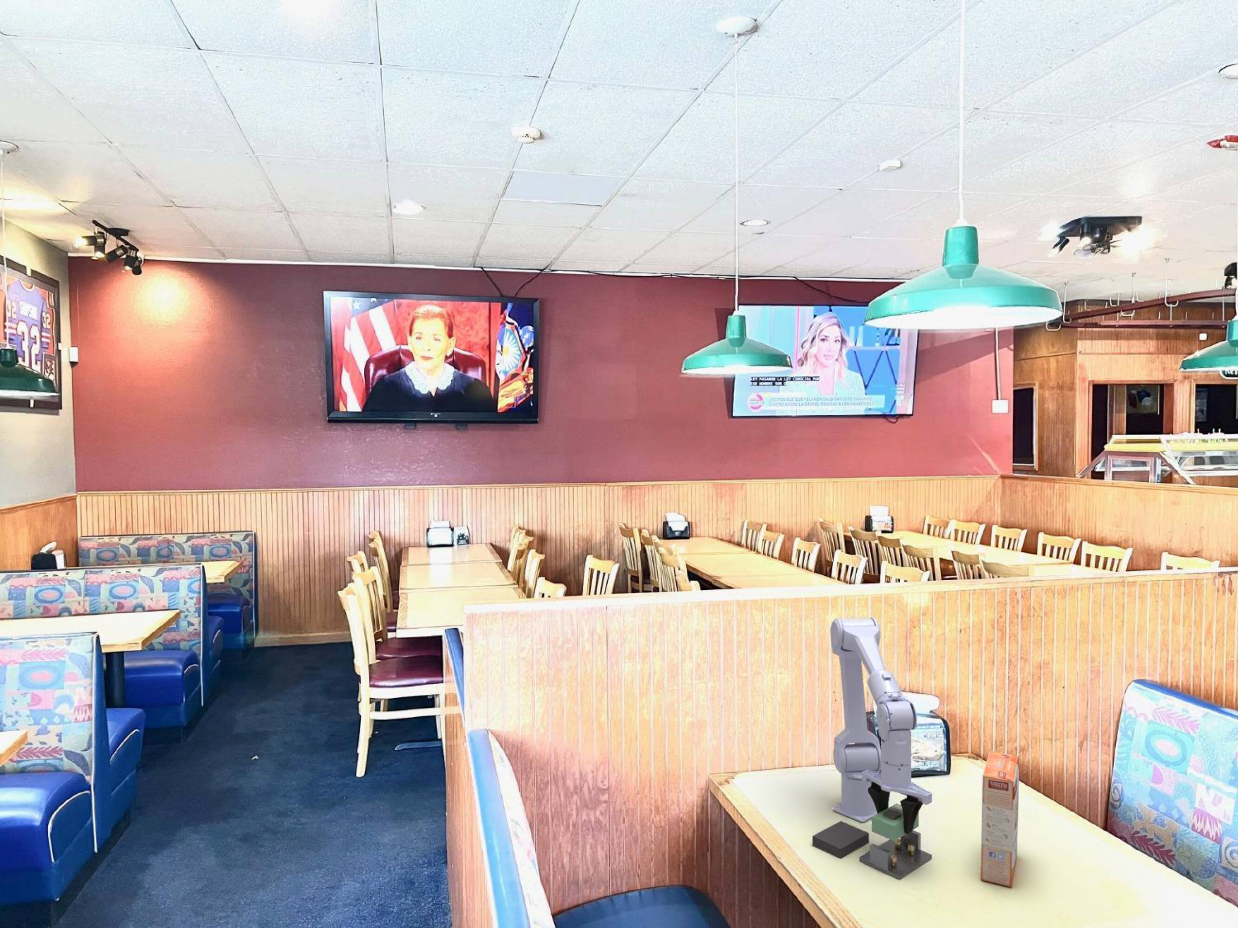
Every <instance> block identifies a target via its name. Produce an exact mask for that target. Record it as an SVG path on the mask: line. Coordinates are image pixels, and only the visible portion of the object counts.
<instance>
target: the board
mask: <svg viewBox="0 0 1238 928" xmlns="http://www.w3.org/2000/svg"><path fill="white" fill-rule="evenodd" d="M919 813H920V811H919V812H918V814H917V817H916V820H915V823H914V827H913V830H914V831H915V829H918V828H919V826H920V825H919V822H920V821H919V819H920V818H919V817H920V816H919ZM871 832H872V833H874V834H876V835H879V836H880V837H884V838H885V839H888V840H889V839H890V840H892V841H895V840H897V839H900V837H902V836H904V835H905V834H906V833H904V817H903V810H902V806H901V804H899V803H895V804H893V805H891V806H889V808H887V809H885V810H883V811H882V812H880V813H878V814H876V815H874V816H872V818H871Z"/></svg>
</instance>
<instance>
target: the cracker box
mask: <svg viewBox="0 0 1238 928" xmlns="http://www.w3.org/2000/svg"><path fill="white" fill-rule="evenodd" d="M984 766H985V767H984V770H983V773H982V784H981V785H982V787H981V788H982V789H981V790H982V791H981V794H982V795H981V833H980V835H981V836H980V837H981V842H980V844H981V846H980V880H981V881H985V882H988V883H993V884H997V885H1001V886H1003V887H1004V886H1005V887H1008V888H1012V887H1013V882H1014V881H1013V879H1014V874H1015V867H1016V862H1017V855H1018V833H1019V832H1018V829H1019V828H1018V827H1019V794H1020V793H1019V791H1020V790H1019V789H1020V788H1019V786H1020V785H1019V784H1020V756H1018V755H1016V754H1010V753H1003V752H997V751H993V750H990V751H989V752H988V756H987V759H986V762H985V765H984Z"/></svg>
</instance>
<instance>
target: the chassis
mask: <svg viewBox="0 0 1238 928" xmlns="http://www.w3.org/2000/svg"><path fill="white" fill-rule="evenodd" d="M921 834H922V833H921V832H918V831H916V830H915V829H914V830H913V831H912V832H910V833H909V834H905V835H904V836H902V837H900V838H899V839H897V840H895V841H892V840H890V839H888V840H886V841H884V842H883V843H881V844H880V845H877V844H875V843H871V844H870V845H869V851H867V852H866V853H863V854H862V855H860V856H859V858H858V861H859V862H860V863H863V864H864V865H865V866H869V867H871V868H873V869H875V870H877V871H879V872H881V873H884V874H885V875H888V876H890V877H892V878H894V879H896V880H898V881H900V880H902V879H903V878H905V877H906V876H908V875H909V874H911V873H912V872H914V871H915V870H917V869H918V868H920V867H922V866H923V865H925V864H926V863H928V862H929V861H931V860H932V859H933V854H931V853H929V852H927V851H924V850H921V849H922V846H921V845H922V843H921V842H922V841H921V838H922V837H921V836H922V835H921Z"/></svg>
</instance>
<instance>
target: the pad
mask: <svg viewBox="0 0 1238 928" xmlns="http://www.w3.org/2000/svg"><path fill="white" fill-rule="evenodd" d="M811 839H812V843H811V844H812V847H813V846H814V847H815V848H818V849H820V850H821V851H823V852H826V853H828V854H830V855H832V856H834V857H836V858H839V859H842V858H844V857H846V856H848V855H849V854H851V853H853V852H855V851H857V850H858V849H860V848H862V847H864V846H865V845H867V844H869V843H870V832H868V831H865V830H863V829H861V828H859V827H856V826H854V825H852V824H849V823H847V822H844V821H842V820H840V821H839V822H836V823H834V824H832V825H830V826H828V827H827V828H825V829H823V830H820V831H819V832H817V833H815V834H813V835H812V838H811Z"/></svg>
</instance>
